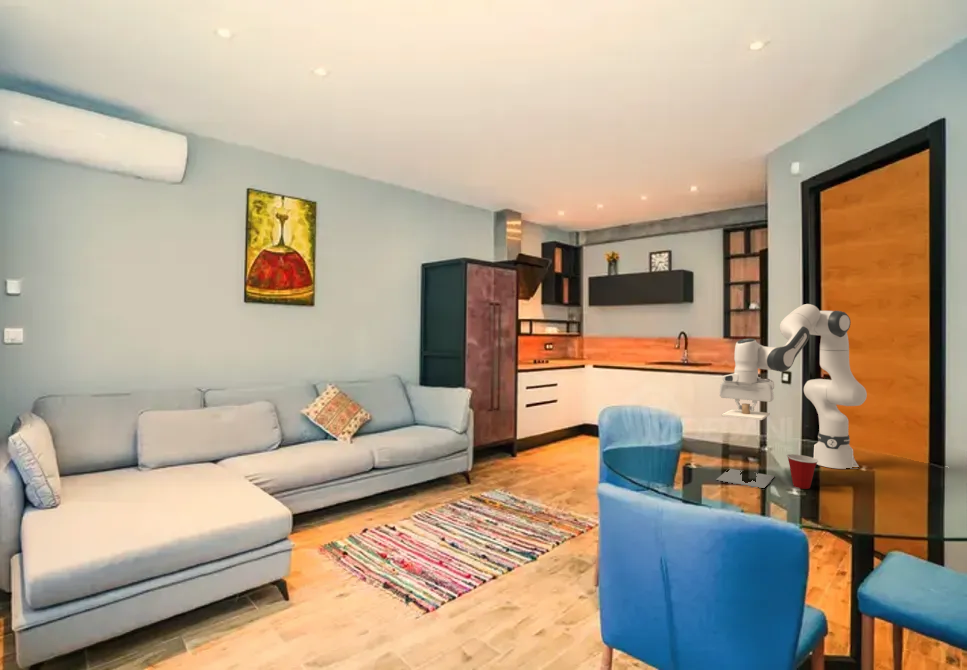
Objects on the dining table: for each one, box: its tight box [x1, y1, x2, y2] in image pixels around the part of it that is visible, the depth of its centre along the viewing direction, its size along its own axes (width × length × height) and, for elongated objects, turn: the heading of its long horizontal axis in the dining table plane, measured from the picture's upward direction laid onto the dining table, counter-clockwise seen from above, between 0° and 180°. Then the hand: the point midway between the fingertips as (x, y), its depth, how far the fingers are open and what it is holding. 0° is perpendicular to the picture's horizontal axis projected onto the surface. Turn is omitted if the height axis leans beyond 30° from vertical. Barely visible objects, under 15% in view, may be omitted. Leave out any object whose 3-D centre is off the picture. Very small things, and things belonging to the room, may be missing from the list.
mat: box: [715, 468, 776, 489], centre depth 217 cm, size 20×18×1 cm
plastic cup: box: [786, 453, 818, 490], centre depth 206 cm, size 11×11×12 cm
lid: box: [721, 403, 771, 421], centre depth 216 cm, size 15×15×5 cm
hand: (745, 410), depth 216 cm, fingers closed on lid, 3 cm apart
